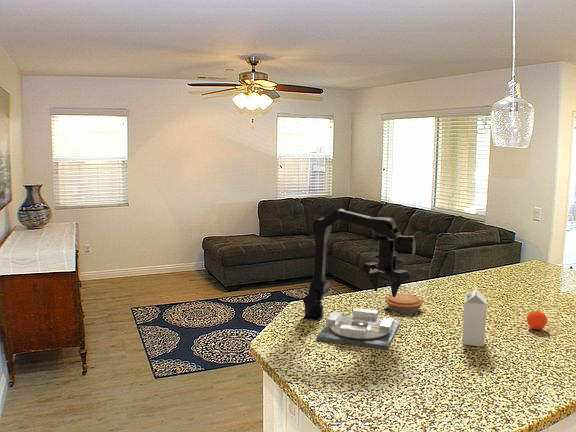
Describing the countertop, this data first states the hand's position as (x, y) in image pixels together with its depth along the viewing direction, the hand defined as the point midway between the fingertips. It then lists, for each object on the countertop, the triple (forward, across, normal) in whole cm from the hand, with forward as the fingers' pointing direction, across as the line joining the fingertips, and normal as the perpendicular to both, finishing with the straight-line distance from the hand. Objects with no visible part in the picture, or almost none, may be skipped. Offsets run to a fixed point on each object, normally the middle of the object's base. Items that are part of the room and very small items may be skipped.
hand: (384, 293), depth 194 cm
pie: (+14, +11, -23) cm, 29 cm away
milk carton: (+13, -28, -15) cm, 34 cm away
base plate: (+13, +2, +11) cm, 17 cm away
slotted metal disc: (+12, +2, +11) cm, 16 cm away
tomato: (+13, -33, -45) cm, 58 cm away
